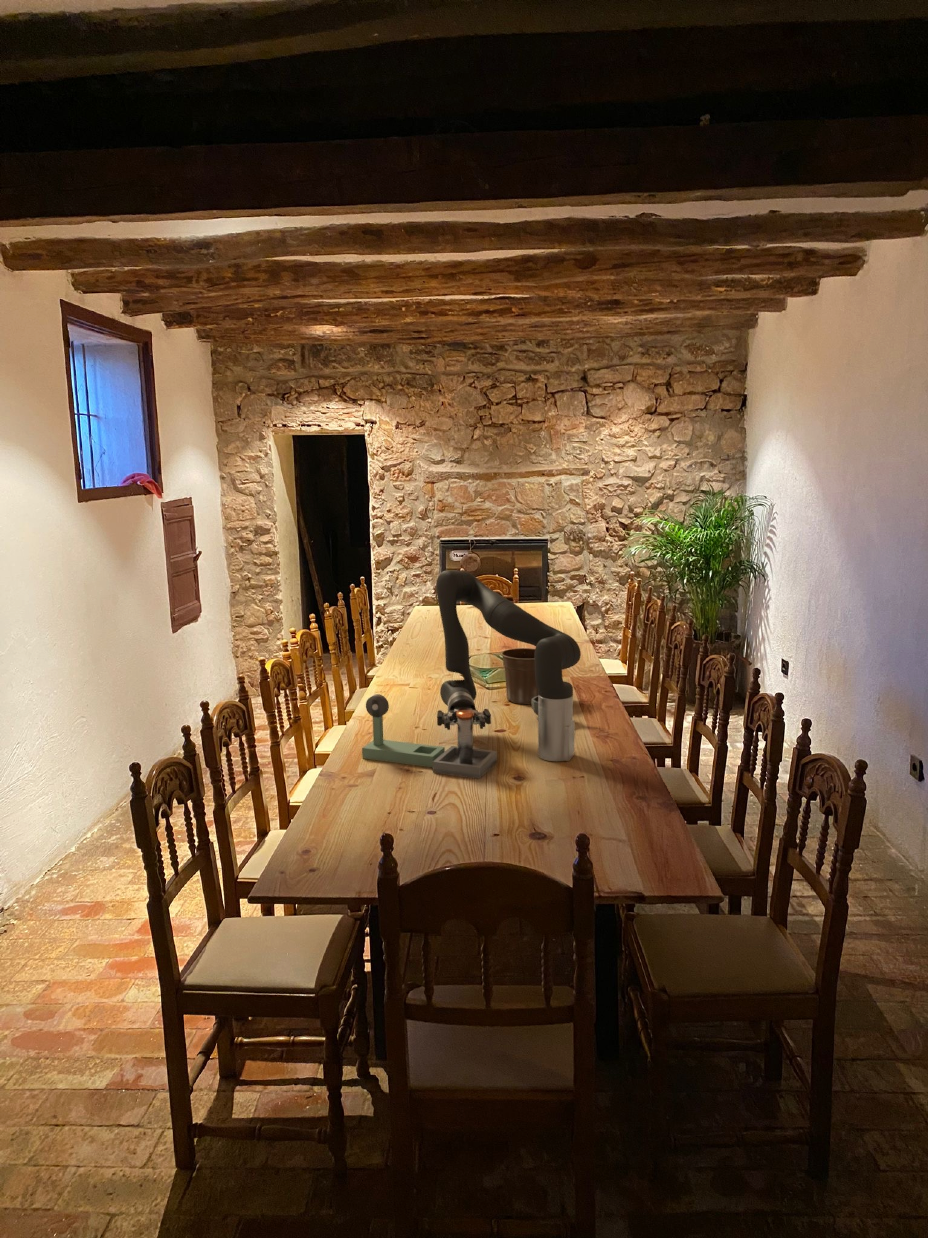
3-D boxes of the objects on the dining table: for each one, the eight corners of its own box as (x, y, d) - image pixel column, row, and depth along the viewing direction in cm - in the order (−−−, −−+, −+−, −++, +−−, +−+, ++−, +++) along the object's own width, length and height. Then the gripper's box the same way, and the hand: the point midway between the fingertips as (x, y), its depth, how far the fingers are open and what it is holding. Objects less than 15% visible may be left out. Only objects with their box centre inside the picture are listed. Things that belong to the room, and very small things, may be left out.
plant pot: (549, 693, 292) (550, 647, 289) (549, 707, 277) (550, 658, 274) (502, 692, 294) (502, 647, 291) (500, 706, 278) (499, 658, 275)
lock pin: (476, 761, 225) (476, 710, 222) (470, 767, 221) (470, 715, 218) (460, 759, 226) (460, 709, 224) (453, 765, 222) (453, 714, 219)
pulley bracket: (444, 757, 231) (443, 697, 228) (433, 767, 224) (431, 705, 221) (375, 749, 239) (373, 690, 235) (362, 758, 231) (360, 698, 228)
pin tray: (496, 762, 227) (496, 751, 227) (480, 779, 215) (479, 767, 215) (451, 756, 232) (451, 745, 231) (433, 772, 220) (432, 761, 219)
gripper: (435, 695, 234) (437, 712, 218) (487, 694, 235) (492, 711, 219) (436, 721, 236) (438, 740, 220) (487, 720, 236) (492, 738, 221)
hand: (465, 725), depth 219 cm, fingers open, 8 cm apart
